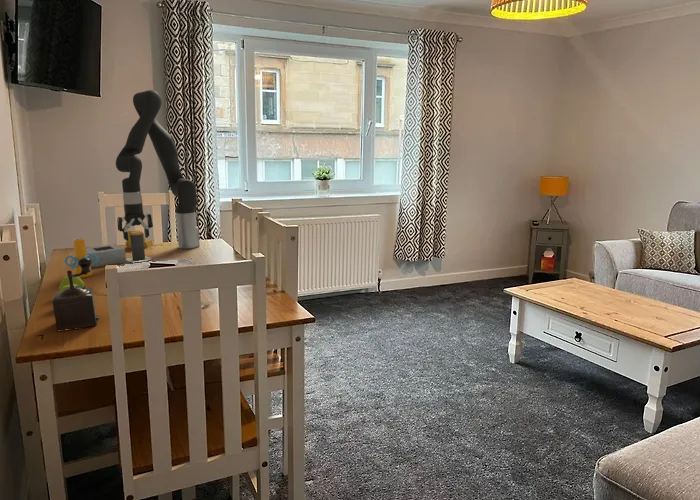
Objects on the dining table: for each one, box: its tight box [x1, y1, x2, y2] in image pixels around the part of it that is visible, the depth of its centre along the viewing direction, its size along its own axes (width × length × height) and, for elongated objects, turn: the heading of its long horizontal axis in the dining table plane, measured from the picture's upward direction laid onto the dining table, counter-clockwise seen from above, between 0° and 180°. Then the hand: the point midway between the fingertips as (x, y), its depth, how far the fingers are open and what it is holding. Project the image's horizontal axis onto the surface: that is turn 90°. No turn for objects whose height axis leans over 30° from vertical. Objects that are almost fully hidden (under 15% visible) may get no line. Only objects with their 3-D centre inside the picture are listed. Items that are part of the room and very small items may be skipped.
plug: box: [130, 231, 146, 261], centre depth 231 cm, size 5×5×12 cm
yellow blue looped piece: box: [64, 237, 98, 279], centre depth 206 cm, size 12×10×15 cm
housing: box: [86, 243, 127, 269], centre depth 229 cm, size 14×14×6 cm
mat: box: [126, 255, 152, 263], centre depth 232 cm, size 9×9×1 cm
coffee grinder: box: [52, 258, 100, 331], centre depth 156 cm, size 16×11×18 cm
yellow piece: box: [125, 230, 154, 249], centre depth 258 cm, size 10×10×9 cm
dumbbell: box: [58, 275, 86, 292], centre depth 177 cm, size 16×8×7 cm, turn 25°
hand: (136, 238), depth 230 cm, fingers open, 8 cm apart
